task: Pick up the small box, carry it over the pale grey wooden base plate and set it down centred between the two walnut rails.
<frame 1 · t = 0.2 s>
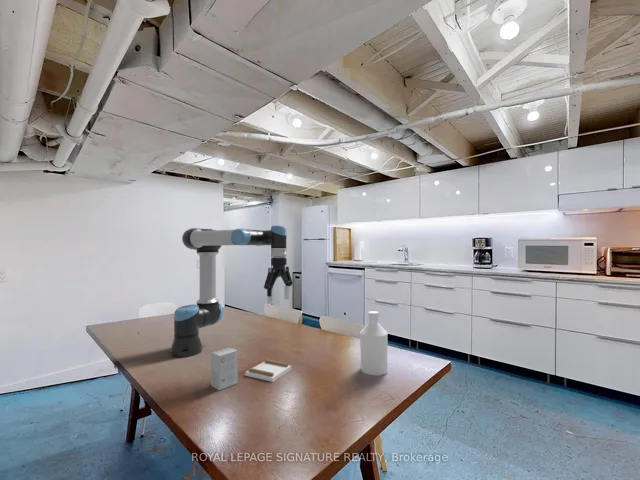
hand: (279, 301, 144), 28 cm above the table, fingers open, 13 cm apart
base plate: (269, 372, 127), on the table
bottle: (374, 370, 129), on the table
small box: (224, 385, 116), on the table
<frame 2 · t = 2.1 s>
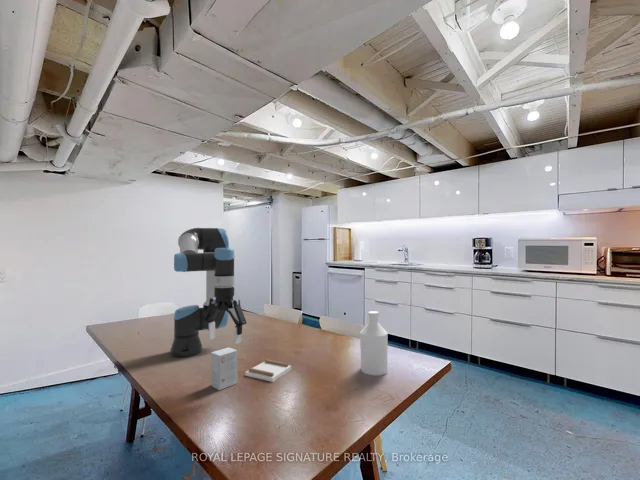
hand: (224, 340, 117), 17 cm above the table, fingers open, 13 cm apart
nothing on the table moved.
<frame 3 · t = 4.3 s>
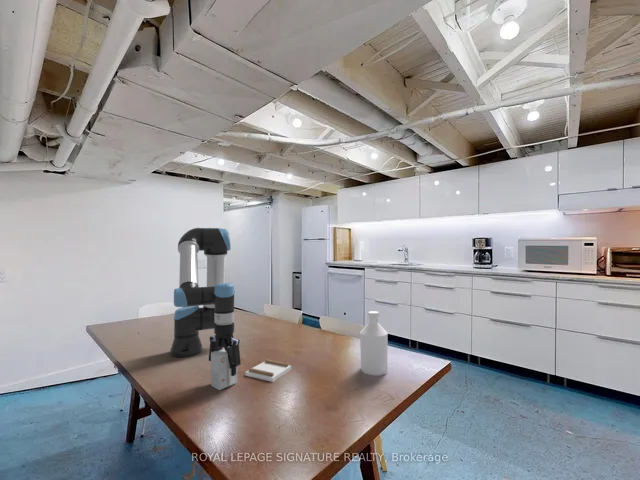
hand: (224, 381, 116), 1 cm above the table, fingers closed on small box, 7 cm apart
small box: (224, 384, 116), on the table, touching gripper
everything else where it was.
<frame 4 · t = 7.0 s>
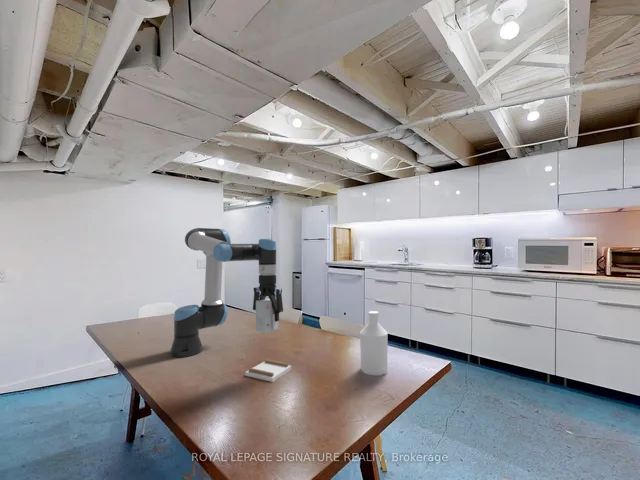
hand: (267, 327, 128), 19 cm above the table, fingers closed on small box, 7 cm apart
small box: (267, 330, 128), point 18 cm above the table, touching gripper
everything else where it was.
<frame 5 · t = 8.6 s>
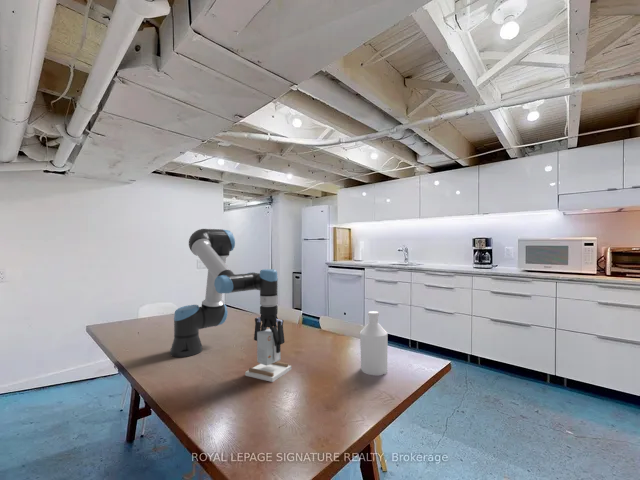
hand: (269, 358, 128), 6 cm above the table, fingers closed on small box, 7 cm apart
small box: (268, 361, 128), point 4 cm above the table, touching gripper
everything else where it was.
when the fingers open (3 cm above the table, at t = 9.8 s): small box stays where it is, resting on base plate.
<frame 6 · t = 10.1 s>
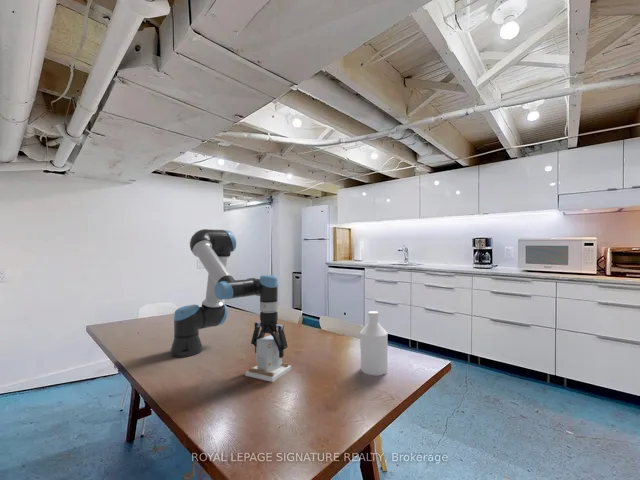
hand: (269, 362, 128), 4 cm above the table, fingers open, 10 cm apart
small box: (268, 369, 128), point 1 cm above the table, touching base plate
everything else where it was.
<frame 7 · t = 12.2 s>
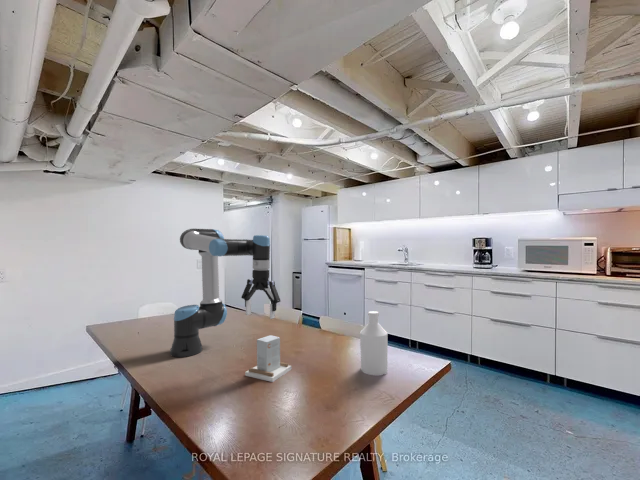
hand: (260, 316, 134), 23 cm above the table, fingers open, 13 cm apart
nothing on the table moved.
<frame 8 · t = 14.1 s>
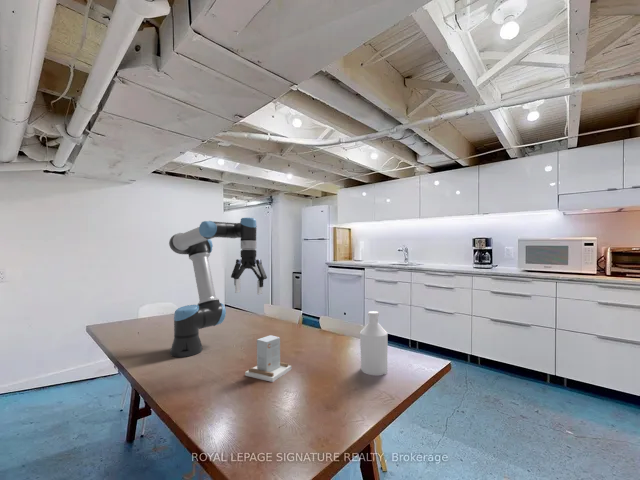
hand: (248, 293, 144), 32 cm above the table, fingers open, 13 cm apart
nothing on the table moved.
at the end: small box 0.2 cm off-centre on the base plate, point 1.3 cm above the base plate's base; small box tilted 0°; the gripper is holding nothing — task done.
